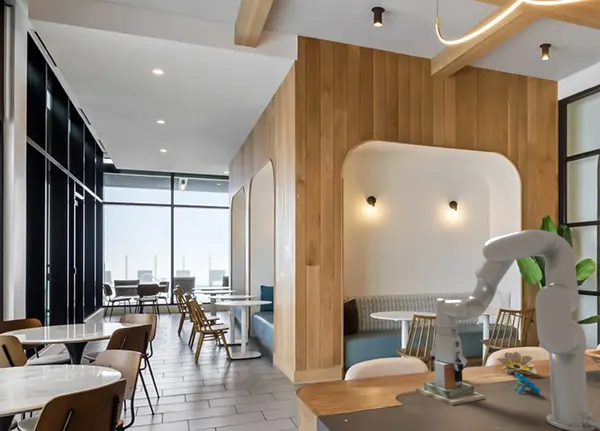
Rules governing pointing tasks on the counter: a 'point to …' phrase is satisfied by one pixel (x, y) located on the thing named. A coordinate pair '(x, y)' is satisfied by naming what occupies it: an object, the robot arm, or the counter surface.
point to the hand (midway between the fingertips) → (448, 378)
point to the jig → (450, 393)
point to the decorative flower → (517, 363)
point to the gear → (525, 383)
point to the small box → (445, 376)
